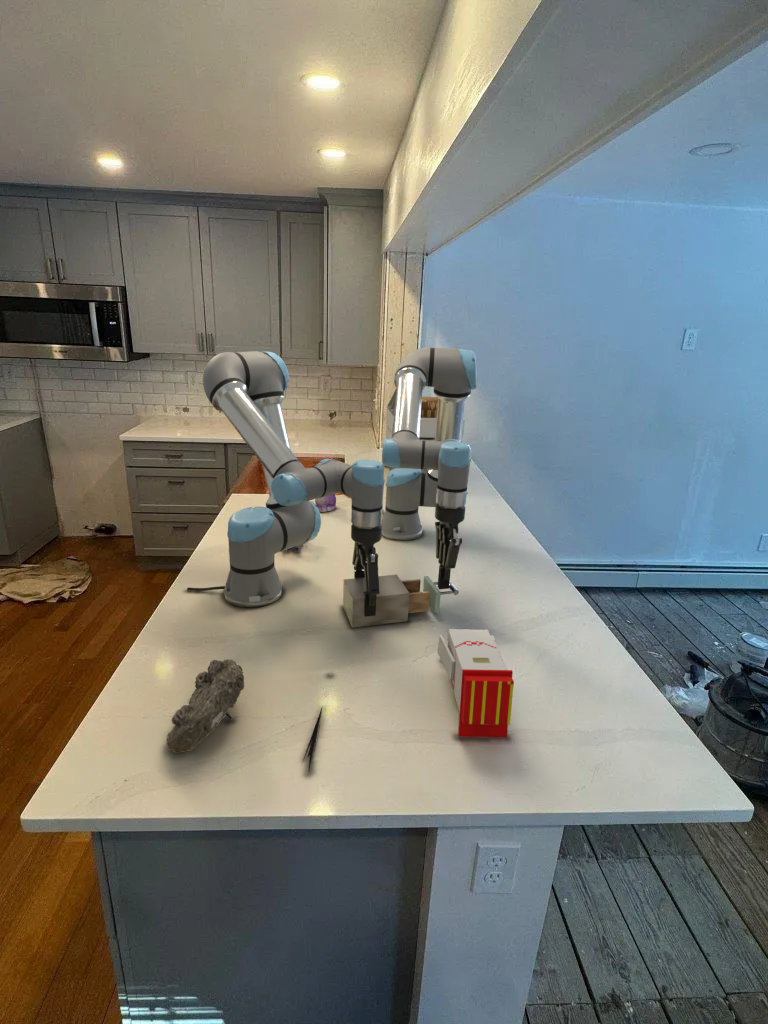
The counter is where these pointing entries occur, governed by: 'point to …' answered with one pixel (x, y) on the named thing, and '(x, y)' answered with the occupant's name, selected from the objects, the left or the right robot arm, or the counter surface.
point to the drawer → (425, 595)
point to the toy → (478, 682)
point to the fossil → (206, 705)
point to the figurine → (326, 503)
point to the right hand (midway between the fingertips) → (443, 587)
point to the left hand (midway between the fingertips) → (364, 604)
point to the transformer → (425, 422)
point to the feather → (313, 740)
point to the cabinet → (388, 601)
